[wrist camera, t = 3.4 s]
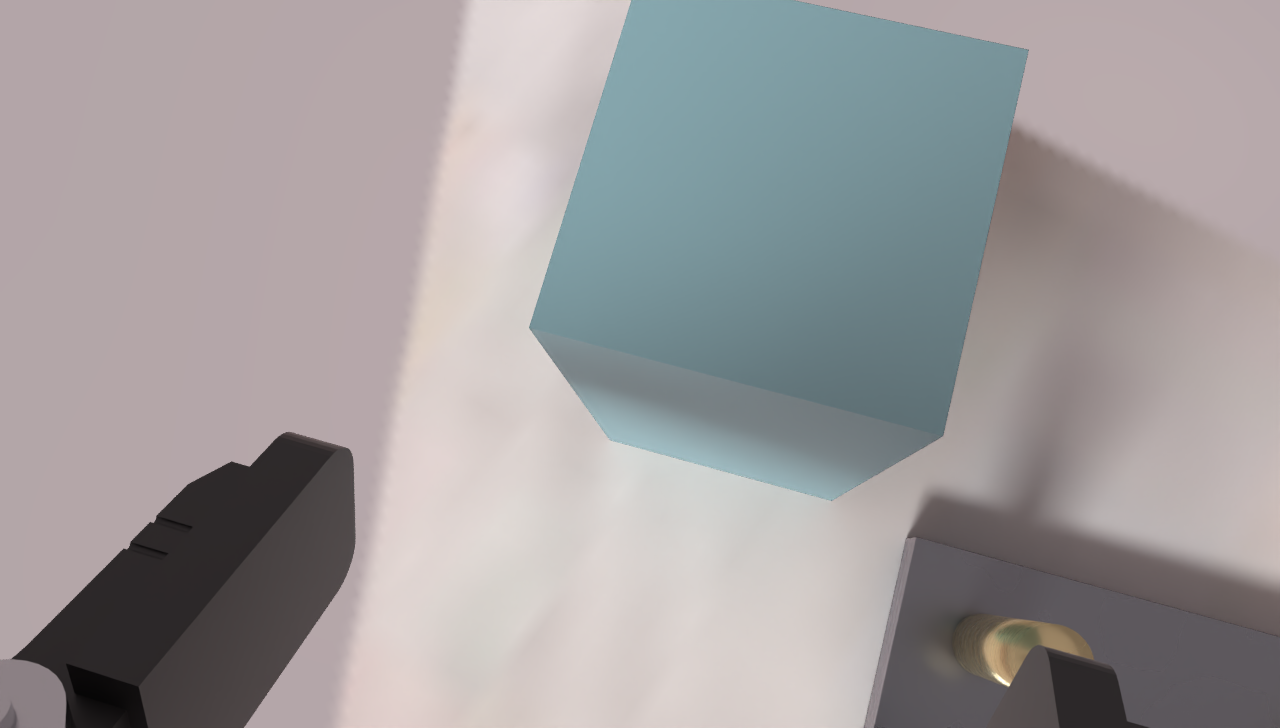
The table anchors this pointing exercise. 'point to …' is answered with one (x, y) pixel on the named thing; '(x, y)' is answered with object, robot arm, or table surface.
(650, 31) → the teal block
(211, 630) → the robot arm
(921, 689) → the chassis plate
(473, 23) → the table surface
